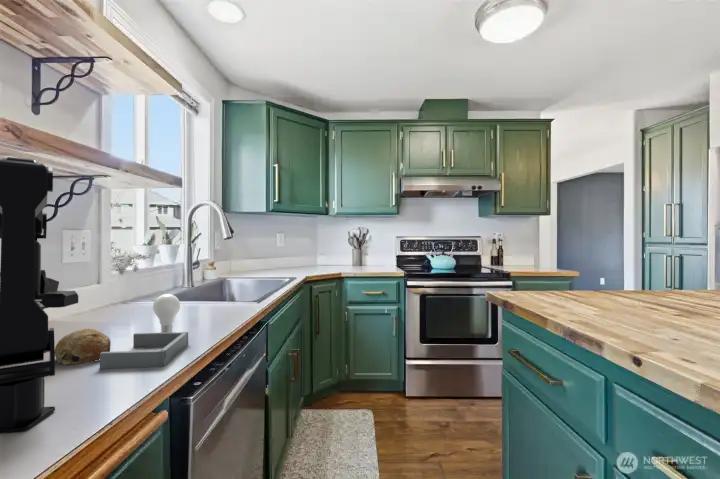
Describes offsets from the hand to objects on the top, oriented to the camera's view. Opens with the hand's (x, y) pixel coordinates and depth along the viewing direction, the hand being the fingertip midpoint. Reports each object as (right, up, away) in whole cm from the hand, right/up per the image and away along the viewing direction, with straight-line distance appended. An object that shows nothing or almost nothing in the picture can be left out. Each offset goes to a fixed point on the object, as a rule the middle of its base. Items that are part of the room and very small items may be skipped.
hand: (22, 340), depth 81 cm
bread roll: (+12, -5, +2) cm, 13 cm away
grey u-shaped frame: (+25, -4, +3) cm, 25 cm away
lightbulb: (+20, -4, +20) cm, 29 cm away
